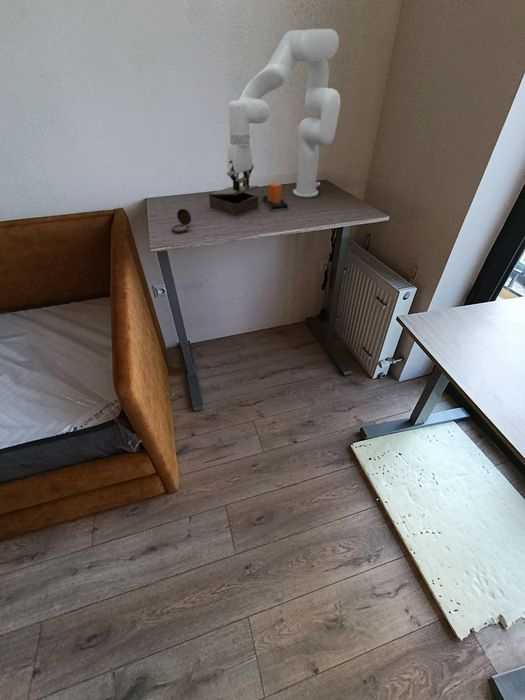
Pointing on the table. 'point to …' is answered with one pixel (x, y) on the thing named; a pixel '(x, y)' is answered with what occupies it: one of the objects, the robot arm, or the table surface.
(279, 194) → the block
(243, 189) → the case lid
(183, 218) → the compass
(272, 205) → the vhs tape
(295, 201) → the table surface
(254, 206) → the case
